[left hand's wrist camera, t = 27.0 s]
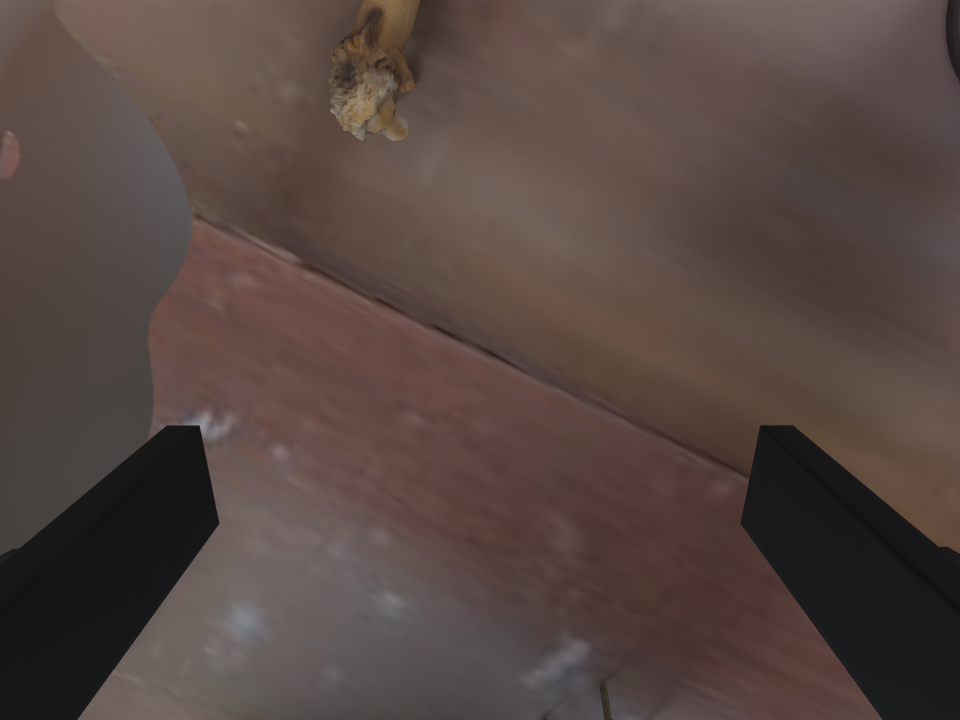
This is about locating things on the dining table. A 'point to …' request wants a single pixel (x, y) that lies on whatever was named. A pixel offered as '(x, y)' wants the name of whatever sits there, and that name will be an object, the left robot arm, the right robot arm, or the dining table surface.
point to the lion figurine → (373, 70)
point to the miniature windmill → (603, 702)
